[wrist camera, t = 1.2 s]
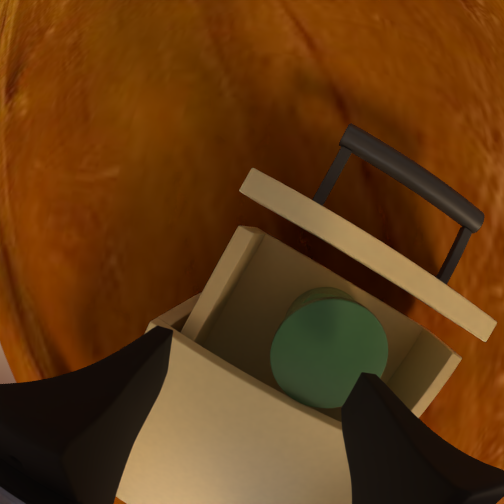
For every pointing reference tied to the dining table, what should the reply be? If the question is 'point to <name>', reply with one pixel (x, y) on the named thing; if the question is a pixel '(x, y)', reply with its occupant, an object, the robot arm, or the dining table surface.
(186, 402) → the cabinet
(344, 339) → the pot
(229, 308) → the drawer
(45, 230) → the dining table surface
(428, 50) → the dining table surface
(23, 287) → the dining table surface
